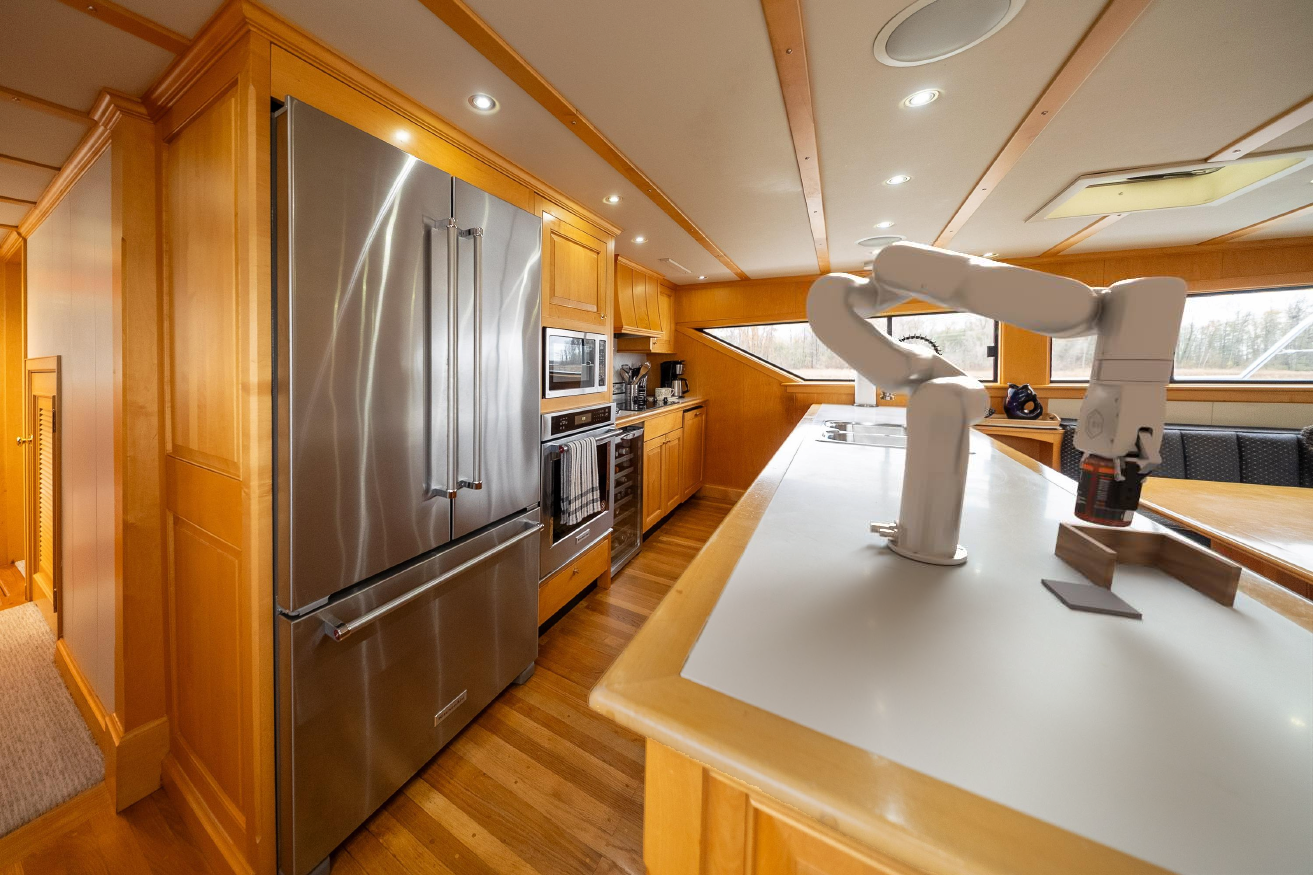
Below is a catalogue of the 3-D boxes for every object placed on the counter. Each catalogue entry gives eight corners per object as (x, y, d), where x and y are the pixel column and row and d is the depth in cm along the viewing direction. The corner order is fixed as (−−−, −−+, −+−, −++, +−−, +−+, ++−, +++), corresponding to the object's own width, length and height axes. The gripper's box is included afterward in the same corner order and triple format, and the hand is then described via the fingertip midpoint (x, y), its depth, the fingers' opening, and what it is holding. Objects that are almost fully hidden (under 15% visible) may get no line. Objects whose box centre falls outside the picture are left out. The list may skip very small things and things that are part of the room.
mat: (1069, 607, 63) (1070, 603, 63) (1041, 582, 71) (1041, 578, 71) (1141, 618, 61) (1142, 614, 61) (1104, 590, 68) (1105, 587, 68)
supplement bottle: (1143, 531, 60) (1160, 449, 59) (1092, 527, 62) (1107, 446, 60) (1109, 516, 66) (1123, 441, 64) (1062, 513, 67) (1075, 439, 66)
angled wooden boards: (1102, 589, 69) (1109, 552, 68) (1054, 553, 82) (1059, 522, 81) (1232, 606, 64) (1242, 567, 63) (1159, 566, 77) (1166, 533, 76)
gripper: (1060, 372, 70) (1042, 484, 73) (1138, 374, 54) (1111, 518, 57) (1121, 374, 68) (1100, 489, 70) (1221, 376, 51) (1188, 525, 54)
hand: (1105, 500), depth 63 cm, fingers closed on supplement bottle, 5 cm apart
